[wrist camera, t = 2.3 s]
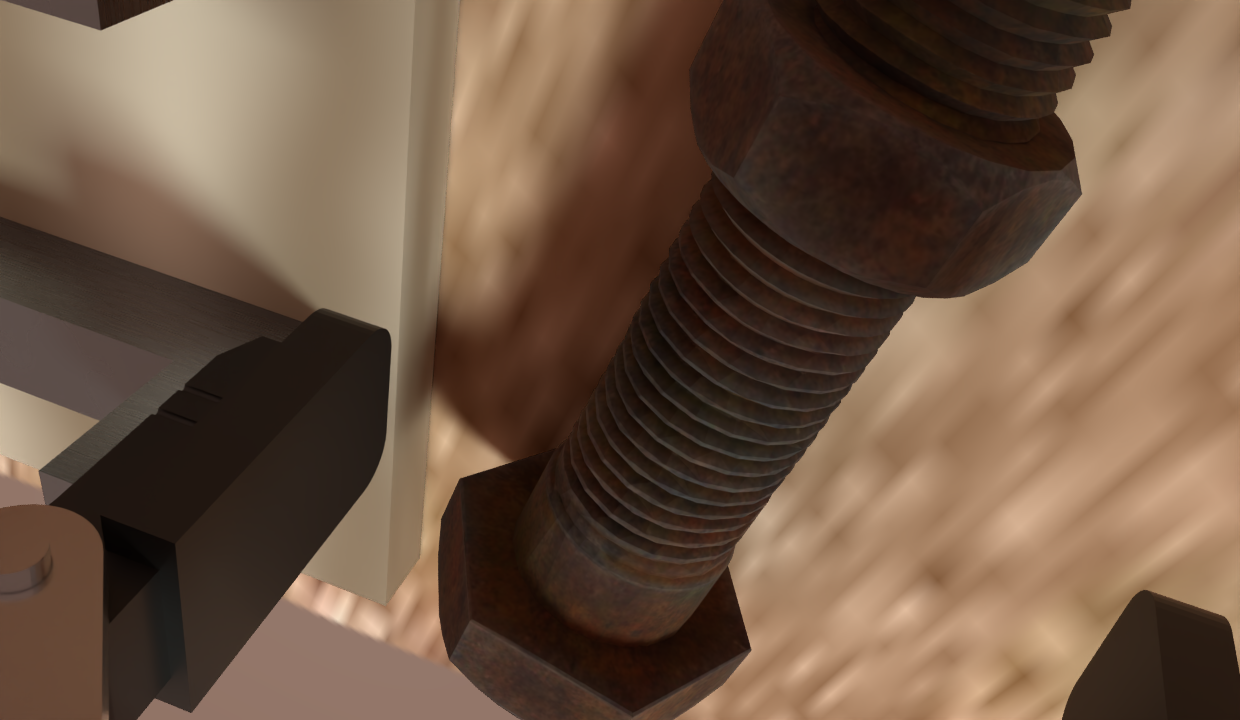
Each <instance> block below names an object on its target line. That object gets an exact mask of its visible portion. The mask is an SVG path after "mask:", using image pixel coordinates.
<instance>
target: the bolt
mask: <svg viewBox="0 0 1240 720" xmlns="http://www.w3.org/2000/svg"><path fill="white" fill-rule="evenodd" d="M1130 6H1131V0H723V2H722V4H721V6H720V8H719V10H718V12H717V14H716V16H715V18H714V21H713V23H712V25H711V27H710V29H709V31H708V33H707V35H706V37H705V39H704V41H703V43H702V45H701V47H700V49H699V51H698V53H697V55H696V57H695V59H694V61H693V63H692V65H691V67H690V69H689V71H690V102H691V113H692V120H693V126H694V131H695V136H696V140H697V144H698V146H699V148H700V150H701V152H702V154H703V156H704V158H705V160H706V162H707V164H708V165H709V167H710V168H711V169H712V179H711V180H710V181H708V182H707V183H706V184H705V185H704V187H703V189H702V192H701V198H700V199H699V200H698V201H697V202H696V203H695V204H694V205H693V207H692V210H691V212H690V218H689V219H688V220H687V221H686V222H685V224H684V225H683V226H682V227H681V230H680V234H679V237H678V239H676V240H675V241H674V243H673V244H672V246H671V247H670V249H669V258H668V259H667V260H666V261H664V262H663V263H662V264H661V266H660V274H659V276H657V277H656V278H655V279H654V280H653V281H652V283H651V285H650V292H649V293H648V294H647V295H646V296H645V297H644V298H643V299H642V301H641V306H640V309H639V310H638V311H637V312H636V314H635V315H634V317H633V320H632V323H631V324H630V326H629V329H628V331H627V334H626V336H625V339H624V340H623V341H622V342H621V344H620V345H619V347H618V349H617V352H616V354H615V356H614V357H613V358H612V360H611V361H610V363H609V365H608V368H607V371H606V372H605V373H604V374H603V375H602V376H601V379H600V381H599V384H598V386H597V388H596V389H595V390H594V391H593V393H592V395H591V397H590V400H589V402H588V404H587V405H586V407H585V408H584V409H583V410H582V412H581V415H580V418H579V419H578V421H577V422H576V423H575V425H574V427H573V430H572V432H571V433H570V435H569V437H568V439H566V440H565V441H563V442H562V443H561V444H560V445H559V447H558V448H557V449H554V450H551V451H547V452H544V453H541V454H538V455H535V456H531V457H528V458H525V459H522V460H518V461H515V462H512V463H509V464H505V465H502V466H499V467H496V468H493V469H489V470H486V471H483V472H480V473H476V474H473V475H470V476H467V477H463V478H460V479H459V482H458V484H457V486H456V488H455V490H454V492H453V494H452V497H451V499H450V501H449V503H448V505H447V507H446V510H445V512H444V514H443V516H442V518H441V529H440V540H439V551H438V586H439V617H440V623H441V630H442V636H443V640H444V643H445V647H446V650H447V654H448V657H449V660H450V661H451V662H452V663H453V664H454V665H455V666H456V667H457V668H458V669H459V670H460V671H461V672H462V673H463V674H464V675H465V676H466V677H467V678H468V679H469V680H470V681H471V682H472V683H473V684H474V685H475V686H476V687H477V688H478V689H479V690H480V691H481V692H483V693H484V694H485V695H487V696H488V697H489V698H490V699H491V700H493V701H494V702H495V703H496V704H497V705H499V706H501V707H502V708H503V709H505V710H506V711H508V712H509V713H511V714H512V715H514V716H516V717H517V718H519V719H521V720H674V719H675V718H677V717H678V716H680V715H681V714H683V713H684V712H686V711H687V710H689V709H690V708H692V707H693V706H695V705H696V704H697V703H699V702H700V701H701V700H703V699H704V698H705V697H707V696H708V695H709V694H711V693H712V692H714V691H715V690H716V689H718V688H719V687H720V686H722V685H723V684H724V683H725V681H726V680H727V679H728V678H729V677H730V675H731V674H732V673H733V672H734V671H735V670H736V668H737V667H738V666H739V665H740V664H741V662H742V661H743V660H744V659H745V658H746V656H747V655H748V654H749V653H750V652H751V647H750V643H749V640H748V636H747V632H746V629H745V625H744V622H743V618H742V615H741V611H740V607H739V604H738V600H737V597H736V593H735V589H734V586H733V582H732V579H731V575H730V572H729V568H728V564H729V562H730V560H731V558H732V556H733V553H734V548H735V545H736V543H737V542H738V541H739V540H740V539H741V538H742V536H743V535H744V533H745V532H746V531H747V529H748V528H749V527H750V525H751V524H752V523H753V521H754V520H755V518H756V517H757V516H758V514H759V513H760V512H761V510H762V509H763V508H764V506H765V505H766V504H767V503H768V501H769V499H770V497H771V495H772V493H773V492H774V491H775V490H776V489H777V488H778V487H779V486H780V484H781V483H782V482H783V481H784V479H785V477H786V476H787V475H788V474H789V473H790V472H791V471H792V469H793V468H794V466H795V463H797V462H798V461H799V460H800V459H801V457H802V456H803V455H804V453H805V451H806V449H807V447H809V446H810V445H811V444H812V442H813V441H814V440H815V438H816V436H817V434H818V432H819V430H821V429H822V428H823V427H824V426H825V424H826V423H827V421H828V419H829V416H830V414H831V413H832V412H833V411H834V410H835V409H836V408H837V407H838V406H839V404H840V403H841V399H842V398H844V397H845V396H846V395H847V394H848V392H849V391H850V389H851V386H852V384H853V383H855V382H856V381H857V380H858V378H859V377H860V376H861V374H862V373H863V371H864V370H865V367H866V366H867V365H868V364H869V362H870V361H871V360H872V359H873V358H874V356H875V355H876V354H877V351H878V348H879V347H880V346H881V345H882V344H883V342H884V341H885V340H886V339H887V338H888V336H889V334H890V330H892V329H893V327H894V326H895V325H896V324H897V322H898V321H899V320H900V319H901V317H902V316H903V312H904V311H906V310H907V309H908V308H909V307H910V306H911V304H912V303H913V301H914V299H915V297H916V296H918V297H923V298H954V297H962V296H965V295H968V294H970V293H972V292H974V291H977V290H979V289H981V288H983V287H985V286H988V285H990V284H992V283H994V282H996V281H998V280H999V279H1001V278H1003V277H1004V276H1006V275H1008V274H1009V273H1011V272H1013V271H1014V270H1016V269H1017V268H1019V267H1021V266H1022V265H1024V264H1026V263H1027V262H1028V261H1029V260H1030V259H1031V258H1032V256H1033V255H1034V254H1035V252H1036V251H1037V250H1038V249H1039V247H1040V246H1041V245H1042V244H1043V242H1044V241H1045V240H1046V239H1047V237H1048V236H1049V235H1050V234H1051V232H1052V231H1053V230H1054V229H1055V227H1056V226H1057V225H1058V224H1059V222H1060V221H1061V220H1062V219H1063V217H1064V216H1065V215H1066V213H1067V212H1068V211H1069V210H1070V208H1071V207H1072V206H1073V205H1074V203H1075V202H1076V201H1077V200H1078V198H1079V197H1080V196H1081V195H1082V192H1081V186H1080V180H1079V175H1078V169H1077V163H1076V158H1075V152H1074V147H1073V141H1072V139H1071V137H1070V135H1069V133H1068V132H1067V130H1066V128H1065V126H1064V125H1063V123H1062V121H1061V120H1060V118H1059V117H1058V116H1057V115H1056V114H1055V113H1054V111H1055V109H1056V107H1057V104H1058V101H1057V96H1056V93H1058V92H1062V91H1065V90H1068V89H1072V86H1073V83H1074V80H1075V76H1076V74H1075V71H1074V69H1073V67H1076V66H1080V65H1084V64H1087V63H1091V61H1092V58H1093V56H1094V53H1093V50H1092V48H1091V45H1090V42H1089V41H1090V40H1095V39H1099V38H1104V37H1108V36H1110V34H1111V28H1112V25H1111V23H1110V20H1109V17H1108V15H1107V14H1110V13H1114V12H1118V11H1123V10H1127V9H1130Z"/></svg>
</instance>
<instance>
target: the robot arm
mask: <svg viewBox="0 0 1240 720" xmlns="http://www.w3.org/2000/svg"><path fill="white" fill-rule="evenodd" d="M391 349H392V342H391V336H390V333H389V331H388V330H387V329H385V328H382V327H379V326H376V325H373V324H370V323H367V322H364V321H362V320H359V319H356V318H353V317H350V316H347V315H344V314H341V313H338V312H335V311H332V310H329V309H326V308H321V309H318V310H316V311H315V312H313V313H312V314H311V315H310V316H309V317H308V318H307V319H306V320H305V321H303V322H302V323H301V324H300V325H299V326H298V327H297V328H296V329H295V330H294V331H293V332H292V333H291V334H290V335H289V336H288V337H287V338H286V339H285V340H283V341H282V342H278V341H275V340H272V339H269V338H266V337H264V336H261V337H259V338H257V339H254V340H252V341H249V342H247V343H245V344H242V345H240V346H238V347H235V348H233V349H231V350H228V351H226V352H224V353H221V354H219V355H217V356H216V357H215V358H213V359H212V360H211V361H210V362H209V363H208V364H207V365H206V366H204V367H203V368H202V369H201V370H200V371H199V372H198V373H197V374H196V375H194V376H193V377H192V378H191V379H190V380H189V381H188V382H187V383H185V386H184V389H183V390H182V391H181V390H178V391H176V392H175V393H174V394H173V395H172V396H171V397H170V398H169V399H167V400H166V401H165V402H164V403H163V404H162V405H161V406H160V407H159V408H158V412H157V413H156V415H154V414H151V415H150V416H148V417H147V418H146V419H145V420H144V421H143V422H142V423H141V424H139V425H138V426H137V427H136V428H135V429H134V430H133V431H132V432H131V433H129V434H128V435H127V436H126V437H125V438H124V439H123V440H122V441H120V442H119V443H118V444H117V445H116V446H115V447H114V448H113V449H111V450H110V451H109V452H108V453H107V454H106V455H105V456H104V457H102V458H101V459H100V460H99V461H98V462H97V463H96V464H95V465H94V466H92V467H91V468H90V469H89V470H88V471H87V472H86V473H85V474H83V475H82V476H81V477H80V478H79V479H78V480H77V481H76V482H74V483H73V484H72V485H71V486H70V487H69V488H68V489H67V490H66V491H64V492H63V493H62V494H61V495H60V496H59V497H58V498H57V499H55V500H54V501H53V502H52V503H50V504H49V505H36V504H30V505H17V506H10V507H4V508H0V720H137V719H138V717H139V716H140V715H141V714H142V713H143V711H144V710H145V709H146V708H147V706H148V705H149V704H150V703H151V702H152V700H153V699H154V698H156V699H159V700H161V701H163V702H166V703H168V704H171V705H173V706H176V707H178V708H181V709H183V710H186V711H188V712H190V713H191V712H193V710H194V709H195V708H196V706H197V705H198V704H199V702H200V701H201V700H202V699H203V697H204V696H205V695H206V694H207V692H208V691H209V690H210V688H211V687H212V686H213V685H214V683H215V682H216V681H217V679H218V678H219V677H220V676H221V674H222V673H223V672H224V670H225V669H226V668H227V666H228V665H229V664H230V662H232V660H233V659H234V658H235V656H236V655H237V654H238V652H239V651H240V650H241V649H242V647H243V646H244V645H245V644H246V642H247V641H248V640H249V638H250V637H251V636H252V634H253V633H254V632H255V631H256V630H257V628H258V627H259V626H260V624H261V623H262V622H263V621H264V619H265V618H266V617H267V615H268V614H269V613H270V612H271V610H272V609H273V608H274V606H275V605H276V604H277V602H278V601H279V600H280V599H281V597H282V596H283V595H284V594H285V592H286V591H287V590H288V588H289V587H290V586H291V585H292V583H293V582H294V581H295V579H296V578H297V577H298V576H299V574H300V573H301V572H302V571H303V569H304V568H305V567H306V565H307V564H308V563H309V562H310V560H311V559H312V558H313V556H314V555H315V554H316V553H317V551H318V550H319V549H320V547H321V546H322V545H323V544H324V542H325V541H326V540H327V538H328V537H329V536H330V535H331V533H332V532H333V531H334V529H335V528H336V527H337V526H338V524H339V523H340V522H341V521H342V519H343V518H344V517H345V515H346V514H347V513H348V512H349V510H350V509H351V508H352V506H353V505H354V504H355V503H356V501H357V500H358V499H359V497H360V496H361V495H362V494H363V492H364V491H365V490H366V488H367V487H368V485H369V483H370V482H371V480H372V478H373V476H374V474H375V472H376V470H377V468H378V465H379V462H380V460H381V457H382V454H383V450H384V446H385V441H386V433H387V416H388V399H389V383H390V366H391ZM1062 720H1240V673H1239V667H1238V662H1237V656H1236V650H1235V645H1234V639H1233V634H1232V629H1231V626H1230V624H1229V622H1228V620H1227V619H1226V618H1225V617H1223V616H1221V615H1219V614H1216V613H1213V612H1210V611H1207V610H1204V609H1201V608H1198V607H1195V606H1192V605H1189V604H1186V603H1183V602H1180V601H1177V600H1174V599H1172V598H1169V597H1166V596H1163V595H1160V594H1157V593H1154V592H1151V591H1148V590H1143V591H1140V592H1139V593H1137V594H1136V595H1135V596H1134V597H1133V598H1132V599H1131V601H1130V602H1129V604H1128V605H1127V607H1126V608H1125V610H1124V611H1123V613H1122V614H1121V616H1120V617H1119V619H1118V620H1117V622H1116V623H1115V625H1114V626H1113V628H1112V629H1111V631H1110V632H1109V634H1108V635H1107V637H1106V638H1105V640H1104V641H1103V643H1102V644H1101V646H1100V648H1099V649H1098V651H1097V652H1096V654H1095V655H1094V657H1093V658H1092V660H1091V661H1090V663H1089V664H1088V666H1087V667H1086V669H1085V670H1084V672H1083V673H1082V675H1081V676H1080V678H1079V679H1078V681H1077V683H1076V684H1075V686H1074V688H1073V690H1072V692H1071V694H1070V696H1069V699H1068V701H1067V704H1066V707H1065V710H1064V714H1063V717H1062Z"/></svg>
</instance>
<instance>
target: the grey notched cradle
mask: <svg viewBox="0 0 1240 720" xmlns="http://www.w3.org/2000/svg"><path fill="white" fill-rule="evenodd" d="M2 1H6V2H9V3H12V4H16V5H19V6H22V7H25V8H29V9H32V10H35V11H38V12H42V13H45V14H48V15H51V16H55V17H58V18H61V19H64V20H68V21H71V22H74V23H77V24H81V25H84V26H87V27H91V28H94V29H97V30H100V31H101V30H104V29H106V28H108V27H111V26H113V25H116V24H118V23H120V22H123V21H125V20H128V19H130V18H132V17H135V16H137V15H140V14H142V13H144V12H147V11H149V10H152V9H154V8H156V7H159V6H161V5H164V4H166V3H168V2H171V1H173V0H2ZM301 323H302V321H299V320H296V319H293V318H290V317H287V316H285V315H282V314H279V313H276V312H273V311H270V310H267V309H264V308H262V307H259V306H256V305H253V304H250V303H247V302H244V301H241V300H239V299H236V298H233V297H230V296H227V295H224V294H221V293H218V292H216V291H213V290H210V289H207V288H204V287H201V286H198V285H195V284H193V283H190V282H187V281H184V280H181V279H178V278H175V277H172V276H170V275H167V274H164V273H161V272H158V271H155V270H152V269H149V268H147V267H144V266H141V265H138V264H135V263H132V262H129V261H127V260H124V259H121V258H118V257H115V256H112V255H109V254H106V253H104V252H101V251H98V250H95V249H92V248H89V247H86V246H83V245H81V244H78V243H75V242H72V241H69V240H66V239H63V238H60V237H58V236H55V235H52V234H49V233H46V232H43V231H40V230H37V229H35V228H32V227H29V226H26V225H23V224H20V223H17V222H14V221H12V220H9V219H6V218H3V217H0V383H1V384H4V385H7V386H9V387H12V388H15V389H17V390H20V391H23V392H25V393H28V394H30V395H33V396H36V397H38V398H41V399H44V400H46V401H49V402H52V403H54V404H57V405H59V406H62V407H65V408H67V409H70V410H73V411H75V412H78V413H80V414H83V415H86V416H88V417H91V418H94V419H96V420H99V422H98V423H97V424H95V425H94V426H93V427H92V428H91V429H89V430H88V431H87V432H86V433H84V434H83V435H82V436H81V437H79V438H78V439H77V440H76V441H75V442H73V443H72V444H71V445H70V446H68V447H67V448H66V449H65V450H64V451H62V452H61V453H60V454H59V455H57V456H56V457H55V458H54V459H52V460H51V461H50V462H49V463H48V464H46V465H45V466H44V467H43V468H41V469H40V470H39V475H40V480H41V485H42V490H43V495H44V500H45V504H46V505H49V504H50V503H52V502H53V501H54V500H55V499H57V498H58V497H59V496H60V495H61V494H62V493H63V492H64V491H66V490H67V489H68V488H69V487H70V486H71V485H72V484H73V483H74V482H76V481H77V480H78V479H79V478H80V477H81V476H82V475H83V474H85V473H86V472H87V471H88V470H89V469H90V468H91V467H92V466H94V465H95V464H96V463H97V462H98V461H99V460H100V459H101V458H102V457H104V456H105V455H106V454H107V453H108V452H109V451H110V450H111V449H113V448H114V447H115V446H116V445H117V444H118V443H119V442H120V441H122V440H123V439H124V438H125V437H126V436H127V435H128V434H129V433H131V432H132V431H133V430H134V429H135V428H136V427H137V426H138V425H139V424H141V423H142V422H143V421H144V420H145V419H146V418H147V417H148V416H150V415H151V414H154V415H156V413H157V412H158V408H159V407H160V406H161V405H162V404H163V403H164V402H165V401H166V400H167V399H169V398H170V397H171V396H172V395H173V394H174V393H175V392H176V391H178V390H181V391H182V390H183V389H184V386H185V383H187V382H188V381H189V380H190V379H191V378H192V377H193V376H194V375H196V374H197V373H198V372H199V371H200V370H201V369H202V368H203V367H204V366H206V365H207V364H208V363H209V362H210V361H211V360H212V359H213V358H215V357H216V356H217V355H219V354H221V353H224V352H226V351H228V350H231V349H233V348H235V347H238V346H240V345H242V344H245V343H247V342H249V341H252V340H254V339H257V338H259V337H261V336H264V337H266V338H269V339H272V340H275V341H278V342H282V341H283V340H285V339H286V338H287V337H288V336H289V335H290V334H291V333H292V332H293V331H294V330H295V329H296V328H297V327H298V326H299V325H300V324H301Z"/></svg>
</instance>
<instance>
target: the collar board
mask: <svg viewBox="0 0 1240 720" xmlns="http://www.w3.org/2000/svg"><path fill="white" fill-rule="evenodd" d="M459 7H460V0H173V1H171V2H168V3H166V4H164V5H161V6H159V7H156V8H154V9H152V10H149V11H147V12H144V13H142V14H140V15H137V16H135V17H132V18H130V19H128V20H125V21H123V22H120V23H118V24H116V25H113V26H111V27H108V28H106V29H104V30H101V31H100V30H97V29H94V28H91V27H87V26H84V25H81V24H77V23H74V22H71V21H68V20H64V19H61V18H58V17H55V16H51V15H48V14H45V13H42V12H38V11H35V10H32V9H29V8H25V7H22V6H19V5H16V4H12V3H9V2H6V1H2V0H0V217H3V218H6V219H9V220H12V221H14V222H17V223H20V224H23V225H26V226H29V227H32V228H35V229H37V230H40V231H43V232H46V233H49V234H52V235H55V236H58V237H60V238H63V239H66V240H69V241H72V242H75V243H78V244H81V245H83V246H86V247H89V248H92V249H95V250H98V251H101V252H104V253H106V254H109V255H112V256H115V257H118V258H121V259H124V260H127V261H129V262H132V263H135V264H138V265H141V266H144V267H147V268H149V269H152V270H155V271H158V272H161V273H164V274H167V275H170V276H172V277H175V278H178V279H181V280H184V281H187V282H190V283H193V284H195V285H198V286H201V287H204V288H207V289H210V290H213V291H216V292H218V293H221V294H224V295H227V296H230V297H233V298H236V299H239V300H241V301H244V302H247V303H250V304H253V305H256V306H259V307H262V308H264V309H267V310H270V311H273V312H276V313H279V314H282V315H285V316H287V317H290V318H293V319H296V320H299V321H302V322H303V321H305V320H306V319H307V318H308V317H309V316H310V315H311V314H312V313H313V312H315V311H316V310H318V309H321V308H326V309H329V310H332V311H335V312H338V313H341V314H344V315H347V316H350V317H353V318H356V319H359V320H362V321H364V322H367V323H370V324H373V325H376V326H379V327H382V328H385V329H387V330H388V331H389V333H390V336H391V342H392V349H391V366H390V383H389V399H388V416H387V433H386V441H385V446H384V450H383V454H382V457H381V460H380V462H379V465H378V468H377V470H376V472H375V474H374V476H373V478H372V480H371V482H370V483H369V485H368V487H367V488H366V490H365V491H364V492H363V494H362V495H361V496H360V497H359V499H358V500H357V501H356V503H355V504H354V505H353V506H352V508H351V509H350V510H349V512H348V513H347V514H346V515H345V517H344V518H343V519H342V521H341V522H340V523H339V524H338V526H337V527H336V528H335V529H334V531H333V532H332V533H331V535H330V536H329V537H328V538H327V540H326V541H325V542H324V544H323V545H322V546H321V547H320V549H319V550H318V551H317V553H316V554H315V555H314V556H313V558H312V559H311V560H310V562H309V563H308V564H307V565H306V567H305V568H304V569H303V571H302V572H301V573H303V574H305V575H308V576H311V577H313V578H316V579H318V580H321V581H323V582H326V583H328V584H331V585H333V586H336V587H338V588H341V589H344V590H346V591H349V592H351V593H354V594H356V595H359V596H361V597H364V598H366V599H369V600H372V601H374V602H377V603H379V604H382V605H384V606H386V605H387V604H388V602H389V601H390V599H391V598H392V597H393V595H394V594H395V592H396V591H397V590H398V588H399V587H400V585H401V584H402V582H403V581H404V580H405V578H406V577H407V575H408V574H409V573H410V571H411V570H412V568H413V567H414V566H415V564H416V563H417V561H418V560H419V558H420V547H421V533H422V519H423V505H424V491H425V478H426V464H427V450H428V436H429V422H430V408H431V395H432V381H433V367H434V353H435V339H436V326H437V312H438V298H439V284H440V270H441V256H442V243H443V229H444V215H445V201H446V187H447V173H448V160H449V146H450V132H451V118H452V104H453V90H454V77H455V63H456V49H457V35H458V21H459ZM98 422H99V420H96V419H94V418H91V417H88V416H86V415H83V414H80V413H78V412H75V411H73V410H70V409H67V408H65V407H62V406H59V405H57V404H54V403H52V402H49V401H46V400H44V399H41V398H38V397H36V396H33V395H30V394H28V393H25V392H23V391H20V390H17V389H15V388H12V387H9V386H7V385H4V384H1V383H0V455H3V456H5V457H8V458H11V459H13V460H16V461H18V462H21V463H23V464H26V465H28V466H31V467H33V468H36V469H38V470H40V469H41V468H43V467H44V466H45V465H46V464H48V463H49V462H50V461H51V460H52V459H54V458H55V457H56V456H57V455H59V454H60V453H61V452H62V451H64V450H65V449H66V448H67V447H68V446H70V445H71V444H72V443H73V442H75V441H76V440H77V439H78V438H79V437H81V436H82V435H83V434H84V433H86V432H87V431H88V430H89V429H91V428H92V427H93V426H94V425H95V424H97V423H98Z"/></svg>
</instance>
